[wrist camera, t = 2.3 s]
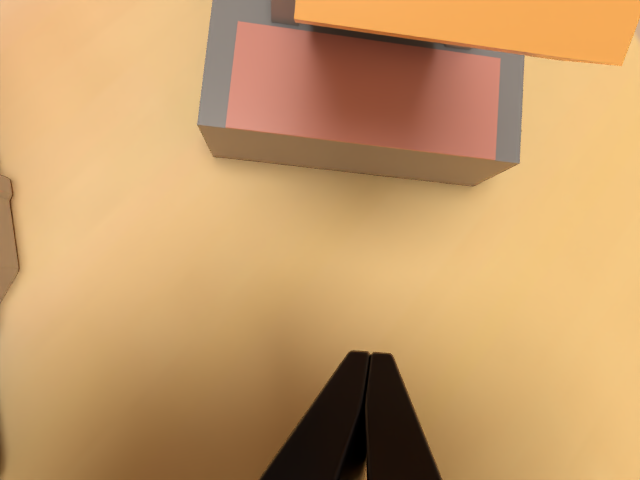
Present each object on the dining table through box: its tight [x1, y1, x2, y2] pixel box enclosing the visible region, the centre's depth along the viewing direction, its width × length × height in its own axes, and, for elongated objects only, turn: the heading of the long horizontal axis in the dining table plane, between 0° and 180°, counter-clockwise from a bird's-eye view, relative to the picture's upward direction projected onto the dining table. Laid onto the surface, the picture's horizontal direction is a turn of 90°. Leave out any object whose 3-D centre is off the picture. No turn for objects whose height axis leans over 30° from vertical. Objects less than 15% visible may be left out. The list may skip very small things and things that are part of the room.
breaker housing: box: [197, 0, 524, 186], centre depth 18 cm, size 10×12×6 cm
